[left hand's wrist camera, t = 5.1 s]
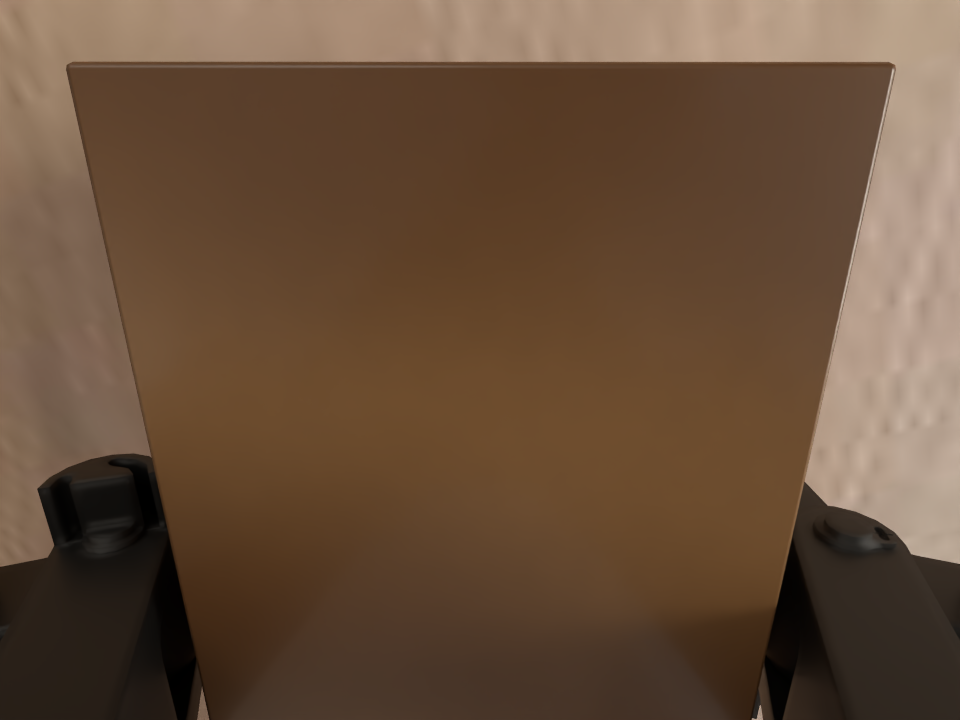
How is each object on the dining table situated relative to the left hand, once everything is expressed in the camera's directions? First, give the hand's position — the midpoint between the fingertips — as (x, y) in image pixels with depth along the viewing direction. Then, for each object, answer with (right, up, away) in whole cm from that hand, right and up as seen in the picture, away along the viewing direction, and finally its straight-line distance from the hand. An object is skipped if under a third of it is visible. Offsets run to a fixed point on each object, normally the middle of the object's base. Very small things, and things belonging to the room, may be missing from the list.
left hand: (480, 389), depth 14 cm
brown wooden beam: (0, -20, +8) cm, 21 cm away
